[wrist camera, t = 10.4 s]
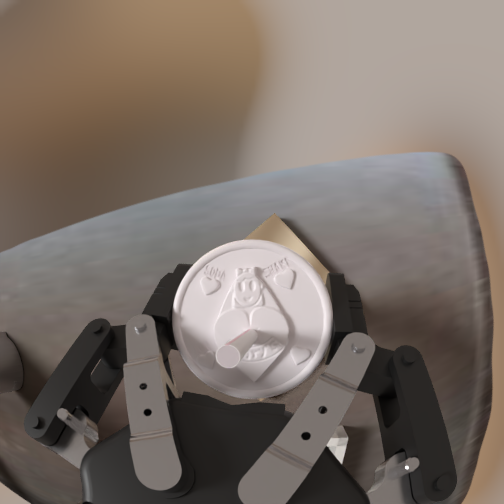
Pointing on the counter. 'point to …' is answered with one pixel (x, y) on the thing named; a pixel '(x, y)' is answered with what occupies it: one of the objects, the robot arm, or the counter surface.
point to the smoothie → (252, 319)
